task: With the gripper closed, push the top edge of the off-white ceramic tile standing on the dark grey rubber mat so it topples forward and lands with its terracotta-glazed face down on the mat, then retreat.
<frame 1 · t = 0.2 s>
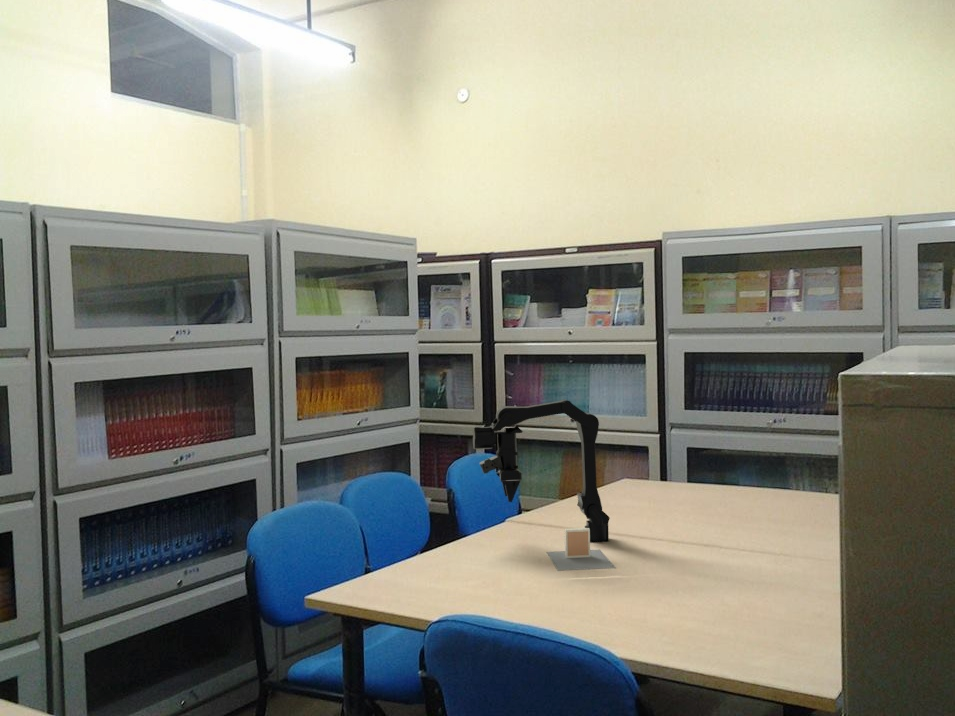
hand: (508, 498, 263), 14 cm above the table, fingers open, 9 cm apart
tile: (577, 556, 247), resting on mat
mat: (579, 560, 244), on the table
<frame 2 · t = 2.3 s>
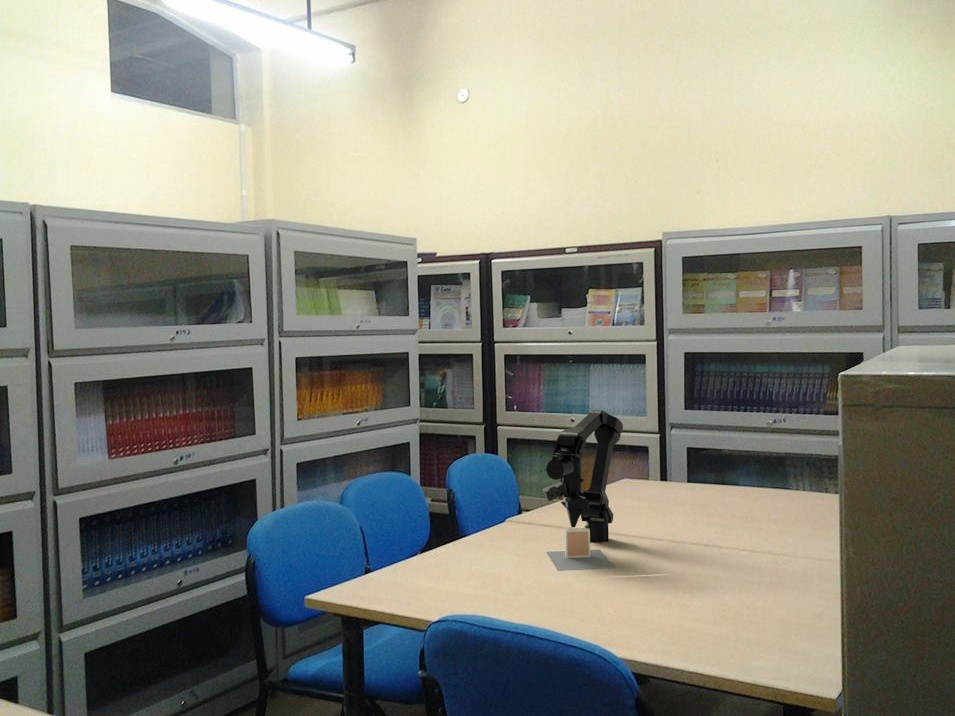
hand: (573, 527, 253), 7 cm above the table, fingers closed
nothing on the table moved.
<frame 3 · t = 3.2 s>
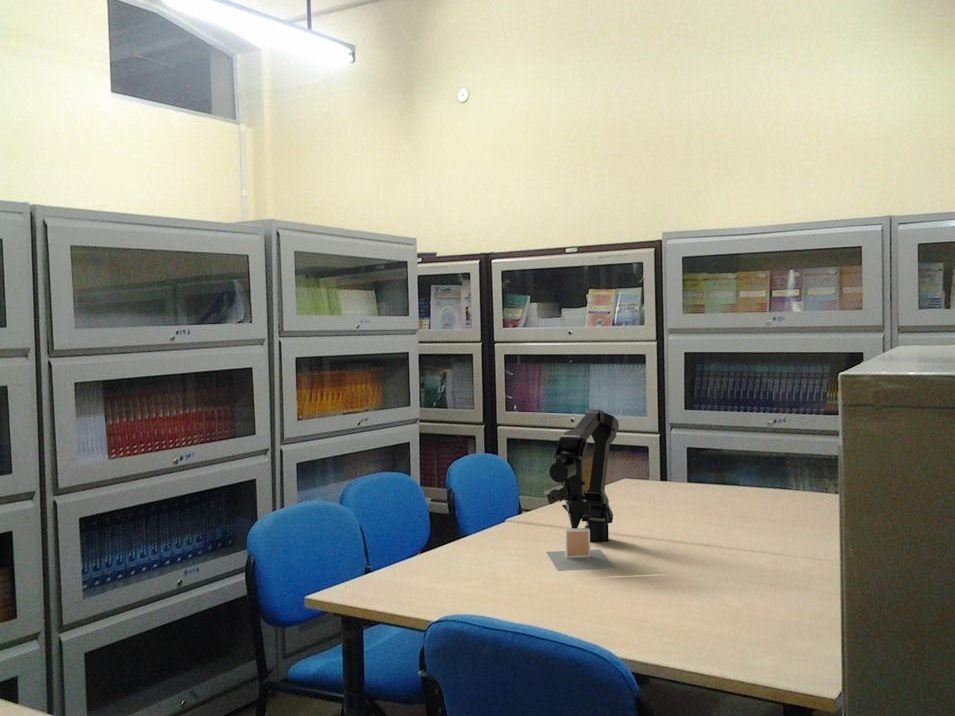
hand: (574, 530, 251), 7 cm above the table, fingers closed
nothing on the table moved.
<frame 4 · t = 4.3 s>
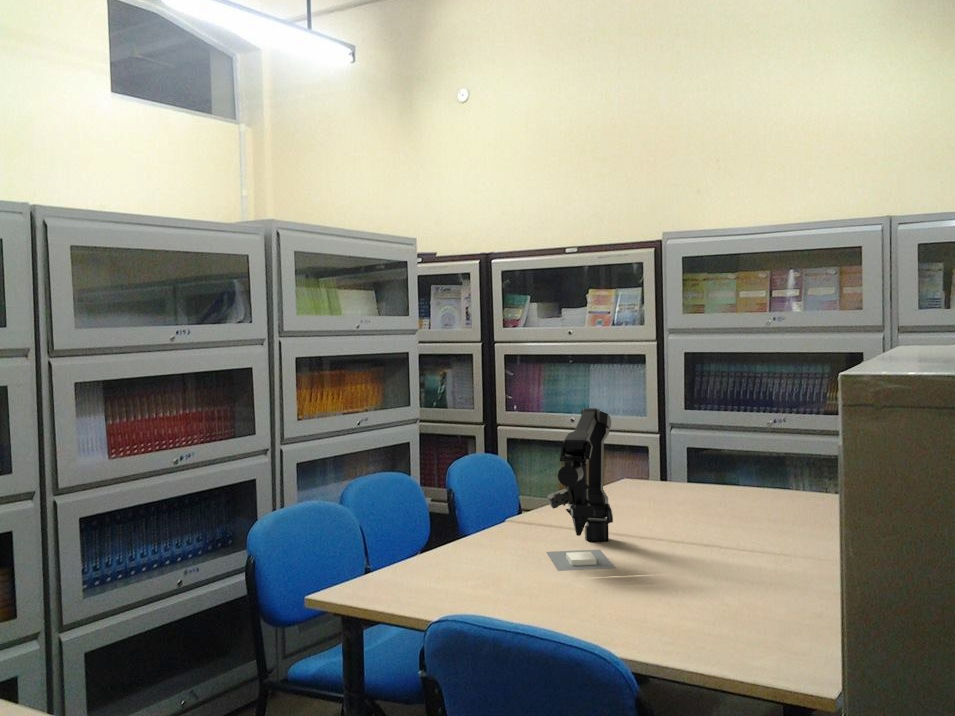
hand: (578, 535, 245), 7 cm above the table, fingers closed
tile: (578, 554, 246), point 1 cm above the table, tilted 90°, touching mat
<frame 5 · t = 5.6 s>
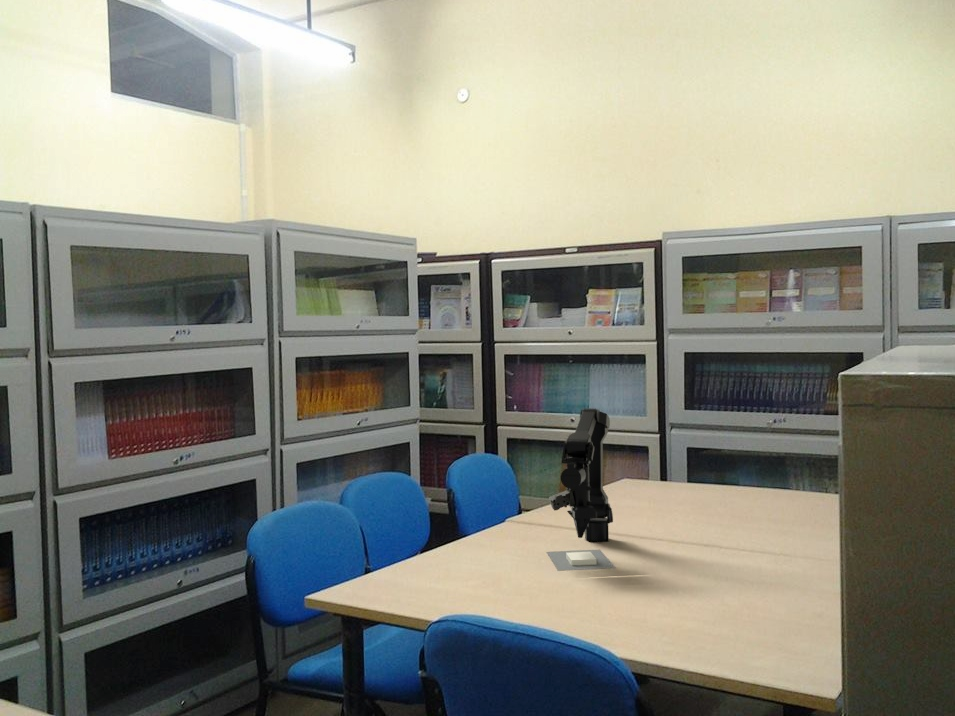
hand: (580, 537, 243), 7 cm above the table, fingers closed
nothing on the table moved.
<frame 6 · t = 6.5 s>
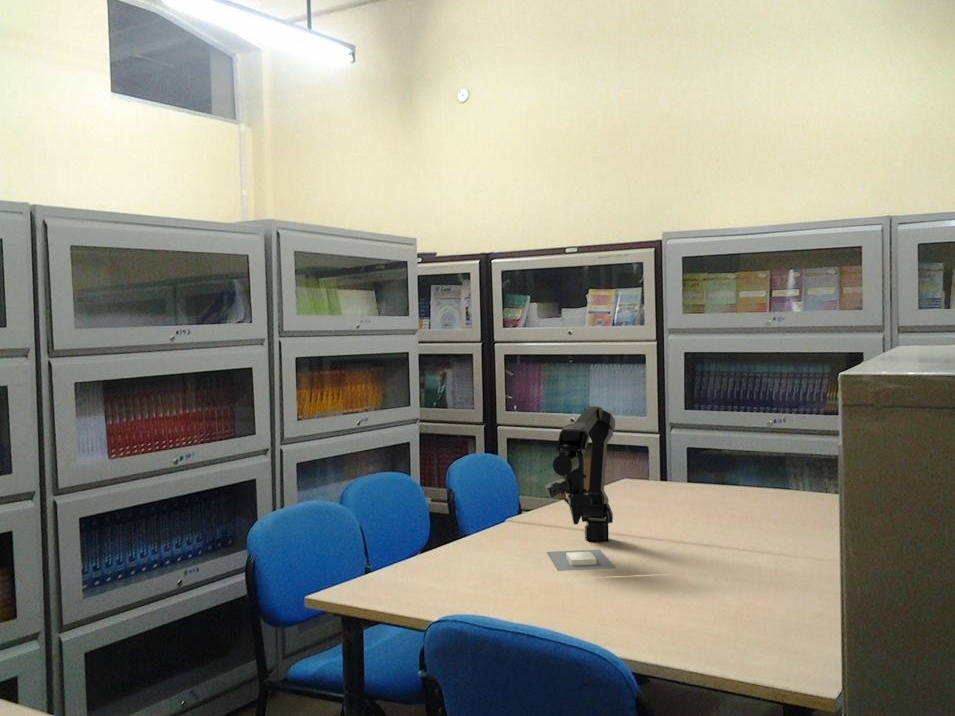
hand: (575, 524, 248), 9 cm above the table, fingers closed
nothing on the table moved.
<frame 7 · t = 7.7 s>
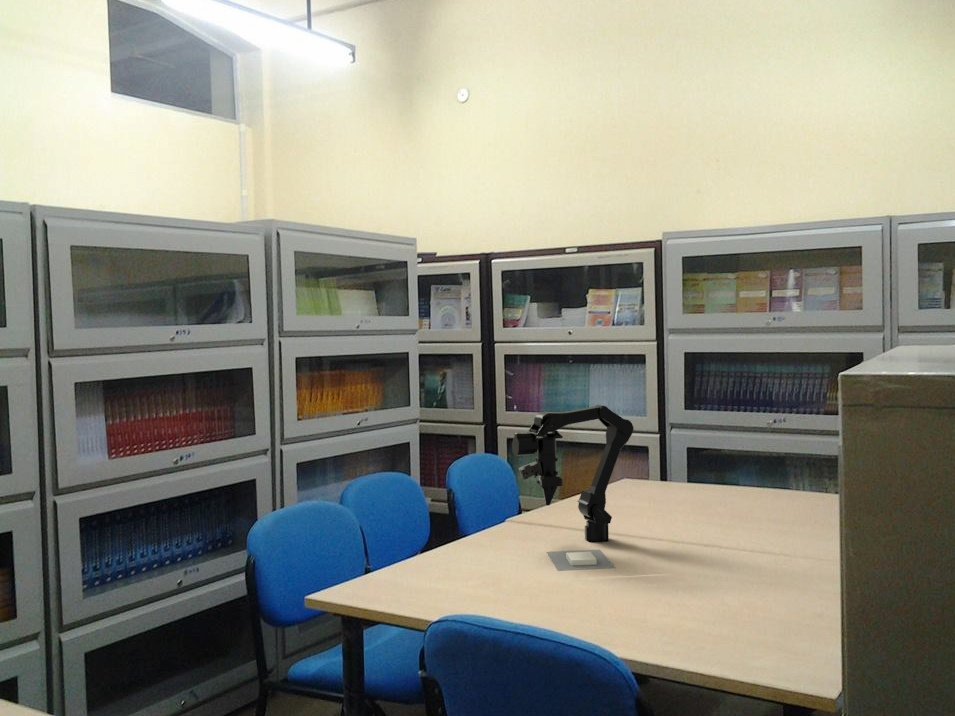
hand: (547, 505, 261), 12 cm above the table, fingers closed
nothing on the table moved.
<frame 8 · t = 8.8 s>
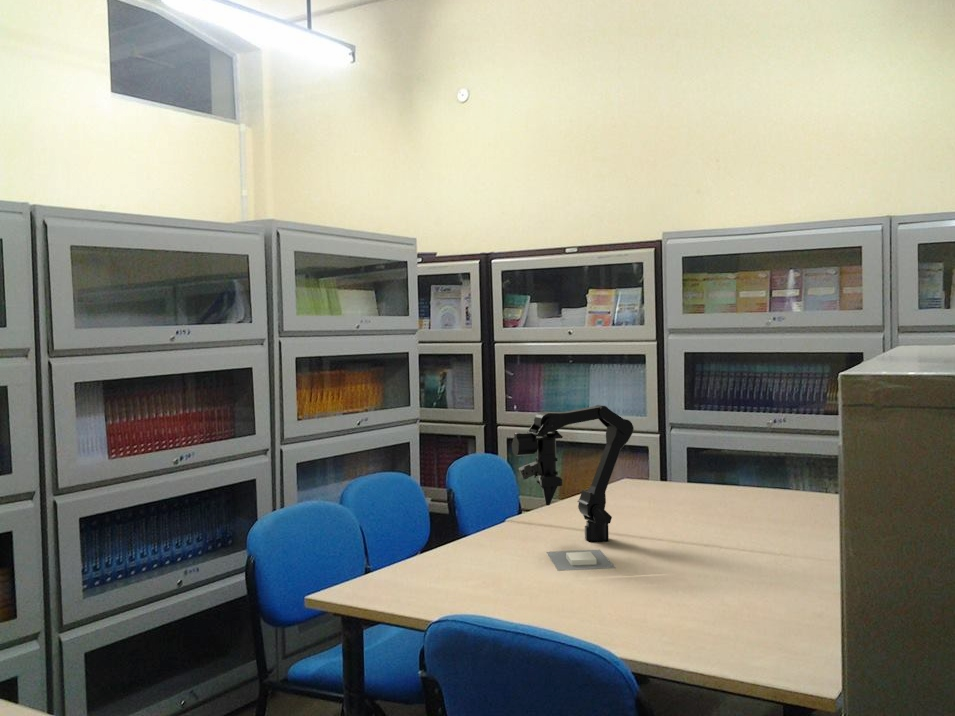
hand: (547, 505, 261), 12 cm above the table, fingers closed
nothing on the table moved.
at the end: tile tilted 90°; tile inside the target area on the mat (2.1 cm from its centre), point 1.2 cm above the mat's base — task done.
